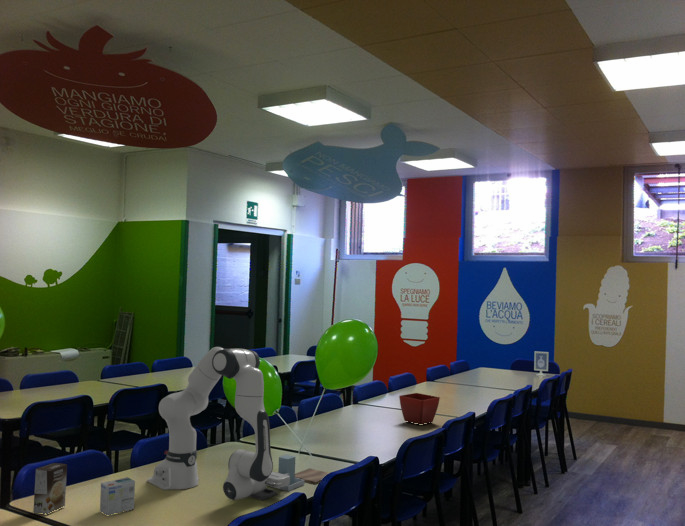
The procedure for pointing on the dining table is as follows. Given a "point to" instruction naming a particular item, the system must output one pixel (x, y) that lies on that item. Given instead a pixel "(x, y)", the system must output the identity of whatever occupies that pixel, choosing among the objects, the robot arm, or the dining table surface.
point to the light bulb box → (117, 496)
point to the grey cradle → (293, 485)
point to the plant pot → (419, 407)
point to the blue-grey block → (287, 467)
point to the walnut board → (311, 475)
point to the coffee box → (50, 488)
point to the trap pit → (264, 494)
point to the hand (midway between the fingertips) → (279, 472)
